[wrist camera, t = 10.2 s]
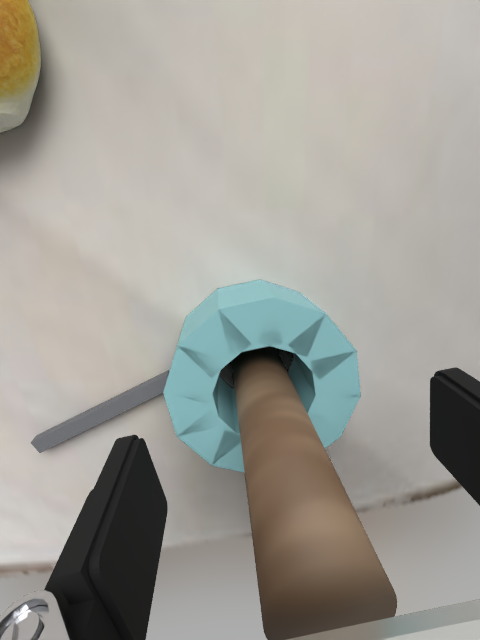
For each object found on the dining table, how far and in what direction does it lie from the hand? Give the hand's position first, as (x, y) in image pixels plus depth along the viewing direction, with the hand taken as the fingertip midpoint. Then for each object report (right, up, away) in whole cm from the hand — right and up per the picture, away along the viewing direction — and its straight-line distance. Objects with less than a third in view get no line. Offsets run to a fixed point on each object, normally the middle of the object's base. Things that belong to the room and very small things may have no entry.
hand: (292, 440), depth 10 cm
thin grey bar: (-9, -1, +8) cm, 12 cm away
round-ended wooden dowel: (-1, +2, +7) cm, 8 cm away
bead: (-1, +2, +7) cm, 8 cm away
